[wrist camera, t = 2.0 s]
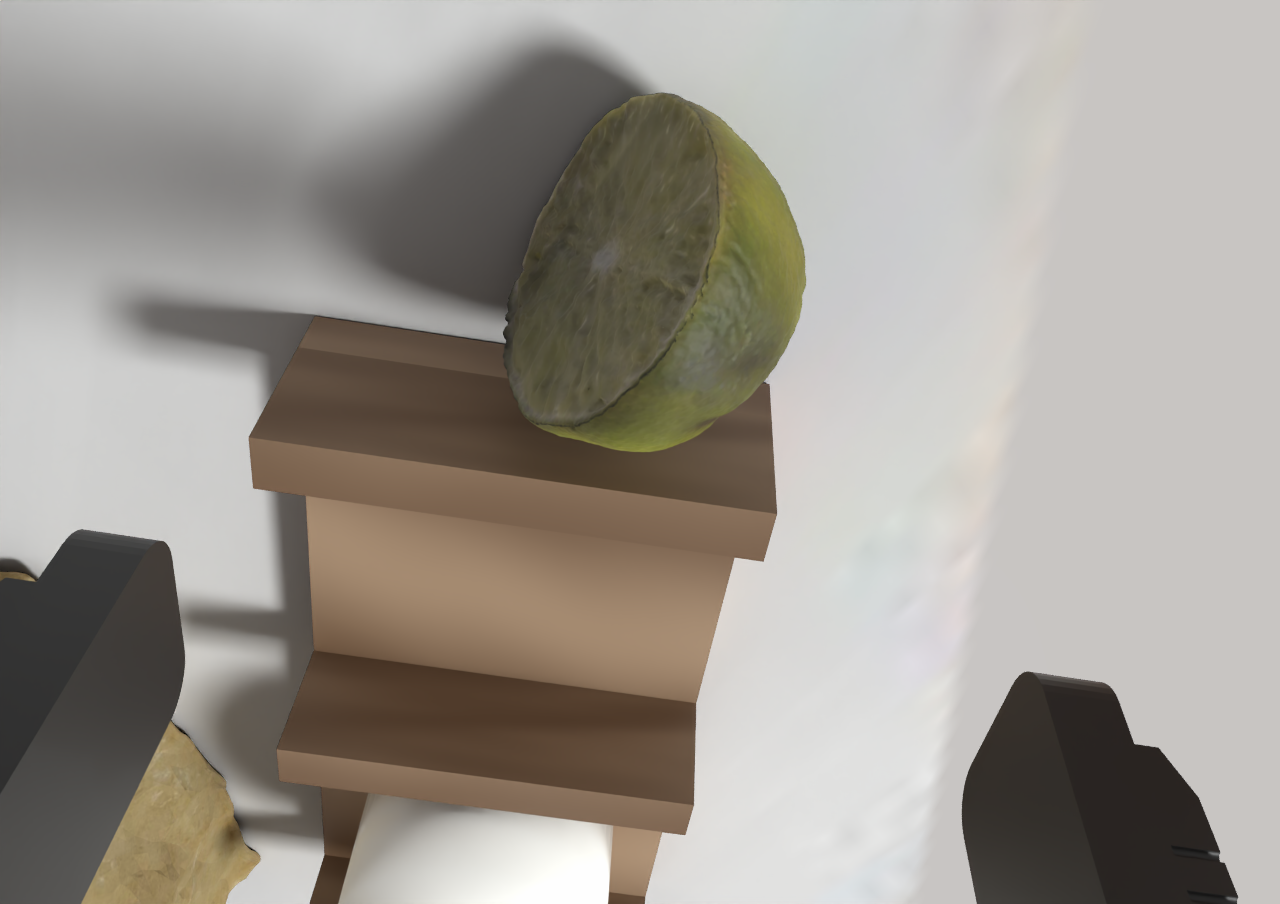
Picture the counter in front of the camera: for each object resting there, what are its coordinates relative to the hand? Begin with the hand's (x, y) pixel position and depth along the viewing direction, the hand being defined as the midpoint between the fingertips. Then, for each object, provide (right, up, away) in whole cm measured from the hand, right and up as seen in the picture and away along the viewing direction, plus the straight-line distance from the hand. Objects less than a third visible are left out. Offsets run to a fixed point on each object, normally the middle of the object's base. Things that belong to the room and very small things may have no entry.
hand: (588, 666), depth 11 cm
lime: (+1, +6, +7) cm, 10 cm away
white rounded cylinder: (-3, -6, +15) cm, 17 cm away
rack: (-2, -2, +14) cm, 14 cm away
